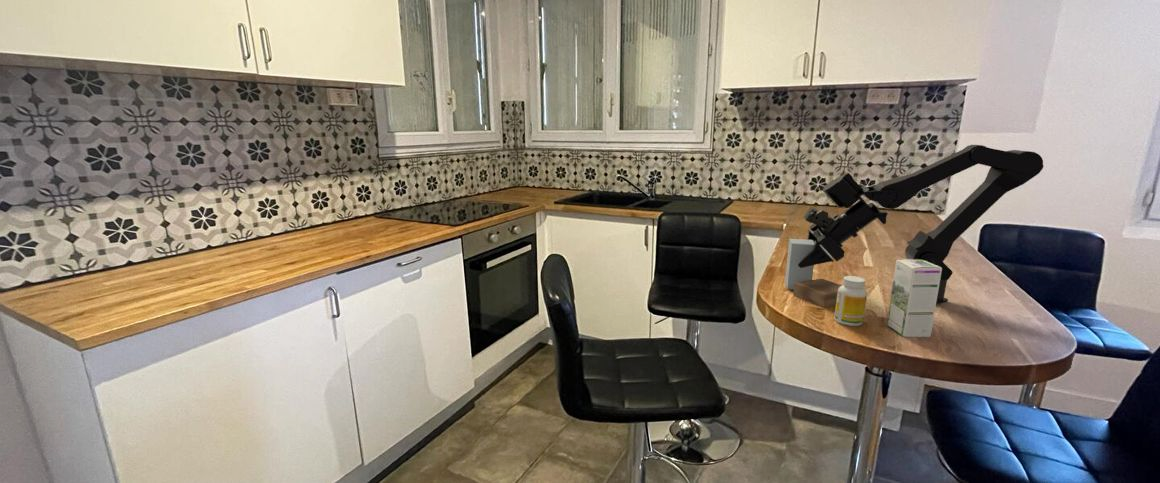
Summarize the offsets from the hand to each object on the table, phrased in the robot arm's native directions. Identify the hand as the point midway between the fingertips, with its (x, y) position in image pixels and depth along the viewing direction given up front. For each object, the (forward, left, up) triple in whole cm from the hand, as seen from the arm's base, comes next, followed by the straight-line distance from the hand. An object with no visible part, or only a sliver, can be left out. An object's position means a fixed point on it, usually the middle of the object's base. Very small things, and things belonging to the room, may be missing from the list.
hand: (797, 261), depth 124 cm
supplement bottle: (-22, +6, -7) cm, 24 cm away
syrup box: (-30, -1, -7) cm, 31 cm away
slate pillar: (0, -1, -7) cm, 7 cm away
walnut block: (-9, 0, -7) cm, 11 cm away
